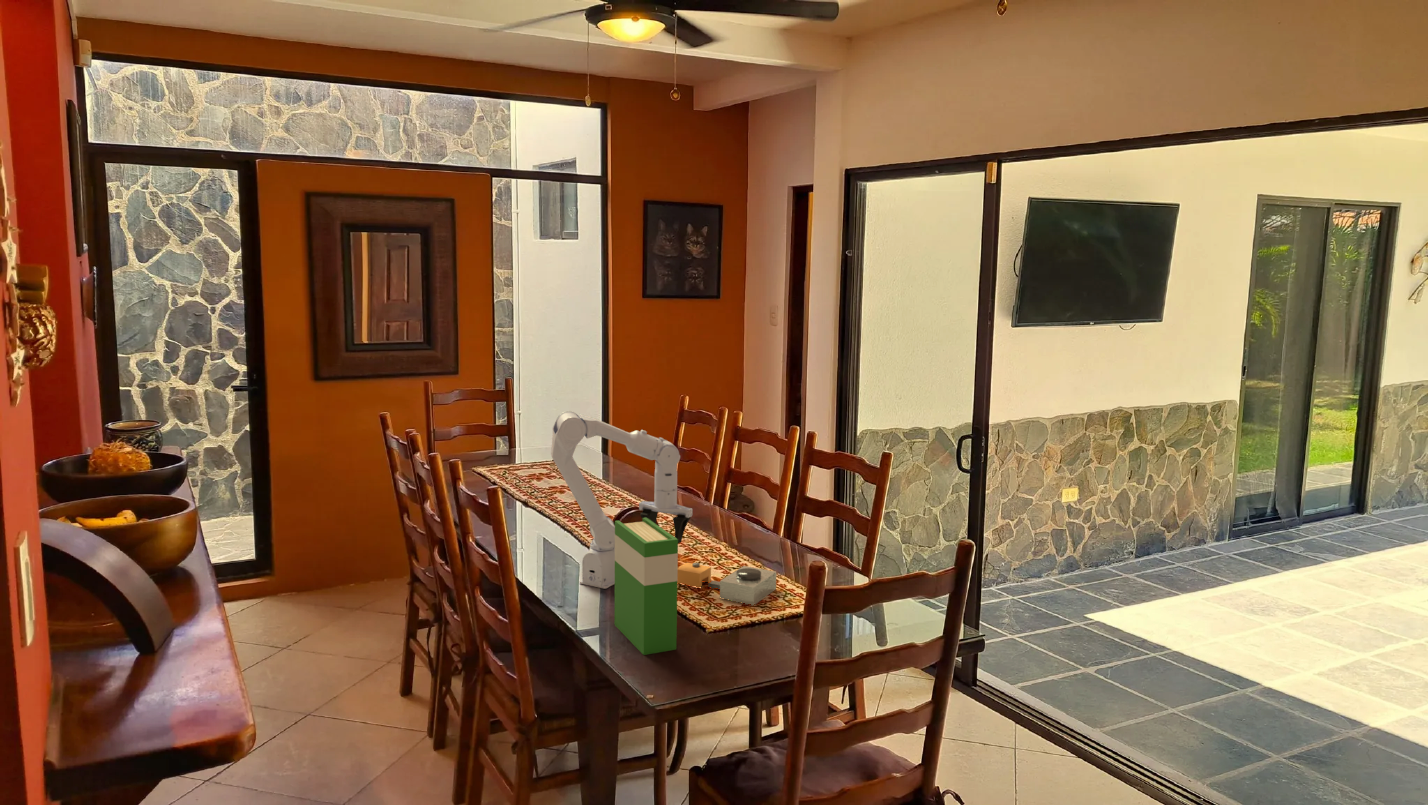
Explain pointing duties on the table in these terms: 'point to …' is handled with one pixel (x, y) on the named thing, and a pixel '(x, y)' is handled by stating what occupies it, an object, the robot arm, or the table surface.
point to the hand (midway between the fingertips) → (665, 540)
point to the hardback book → (646, 585)
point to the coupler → (746, 585)
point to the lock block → (693, 574)
